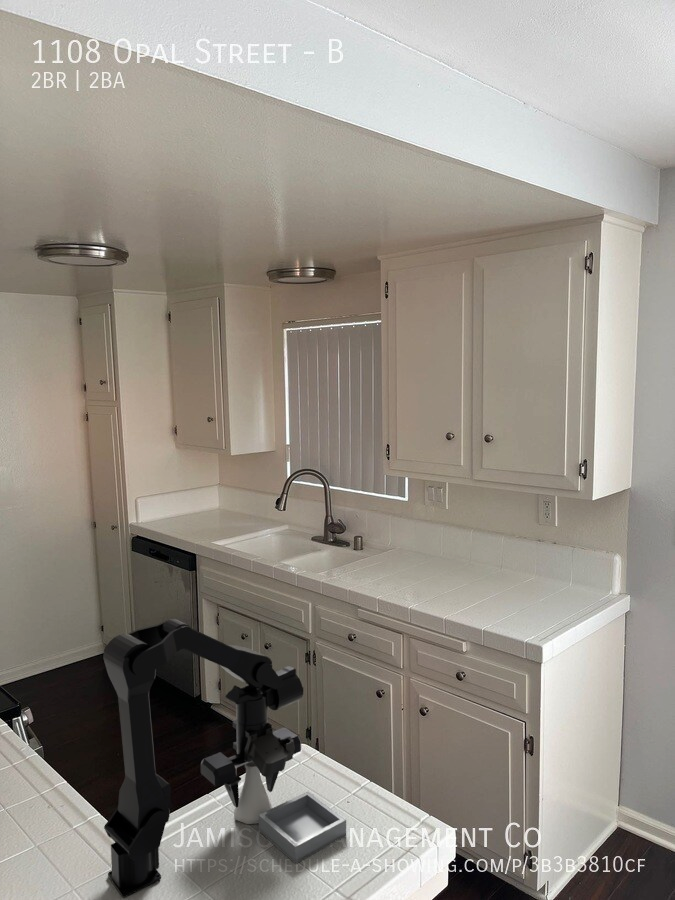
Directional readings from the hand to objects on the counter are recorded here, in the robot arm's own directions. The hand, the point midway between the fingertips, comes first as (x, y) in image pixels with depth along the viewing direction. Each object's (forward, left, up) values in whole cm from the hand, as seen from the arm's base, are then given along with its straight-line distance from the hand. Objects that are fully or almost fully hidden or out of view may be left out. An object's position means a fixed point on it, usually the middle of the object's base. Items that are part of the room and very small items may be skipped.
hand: (253, 798), depth 127 cm
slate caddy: (+4, -10, -3) cm, 11 cm away
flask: (0, 0, -3) cm, 3 cm away
